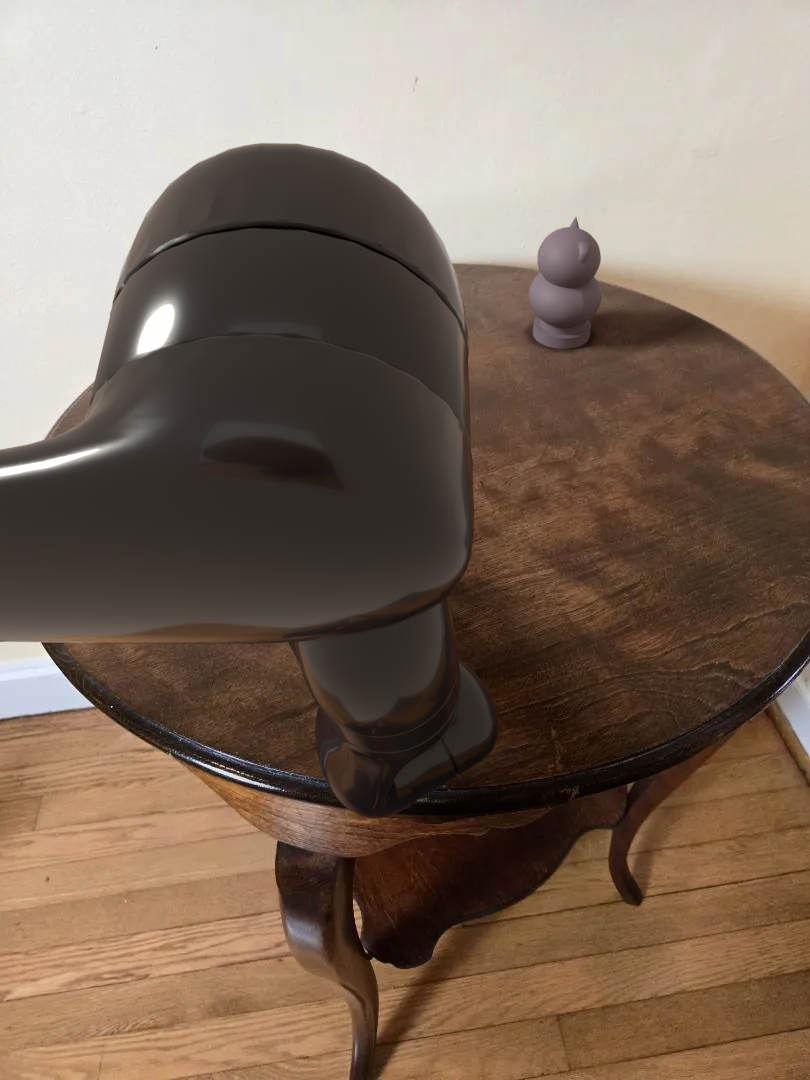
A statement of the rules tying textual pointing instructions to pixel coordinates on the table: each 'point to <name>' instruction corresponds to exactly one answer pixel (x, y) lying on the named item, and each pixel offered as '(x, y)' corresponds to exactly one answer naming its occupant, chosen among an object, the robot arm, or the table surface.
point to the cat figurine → (565, 288)
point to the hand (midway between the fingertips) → (221, 433)
